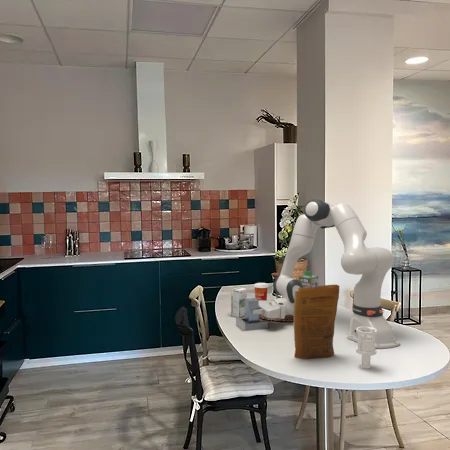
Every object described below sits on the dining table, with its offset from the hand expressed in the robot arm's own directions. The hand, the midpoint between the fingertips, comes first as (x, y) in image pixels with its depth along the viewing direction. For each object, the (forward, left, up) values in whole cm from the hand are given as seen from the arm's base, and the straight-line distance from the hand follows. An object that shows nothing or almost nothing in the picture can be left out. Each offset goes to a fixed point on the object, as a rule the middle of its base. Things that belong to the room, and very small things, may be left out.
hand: (250, 310), depth 208 cm
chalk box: (+52, -59, -8) cm, 79 cm away
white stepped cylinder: (-59, -22, -8) cm, 64 cm away
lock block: (0, -1, -7) cm, 7 cm away
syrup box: (+19, -1, -8) cm, 21 cm away
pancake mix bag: (-44, -10, -8) cm, 46 cm away
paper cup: (+28, -17, -8) cm, 34 cm away
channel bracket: (0, -1, -8) cm, 8 cm away
